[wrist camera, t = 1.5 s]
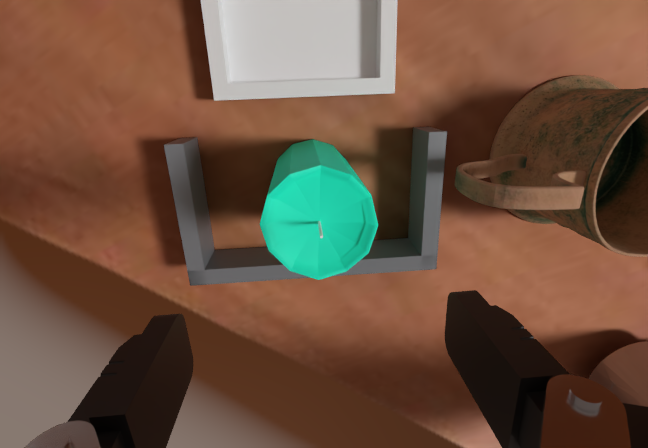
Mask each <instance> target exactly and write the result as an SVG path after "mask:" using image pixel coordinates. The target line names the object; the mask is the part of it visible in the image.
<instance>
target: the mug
mask: <svg viewBox="0 0 648 448" xmlns="http://www.w3.org/2000/svg"><path fill="white" fill-rule="evenodd" d="M487 177H490V180H491V183H490V182H486V181H483V180H480V178H487ZM455 187H456V188H457V190H458V191H459V192H461V193H462V194H463V195H465V196H466V197H468V198H470V199H471V200H473V201H476V202H478V203H481V204H484V205H487V206H492V207H497V208H505V209H507V210H509V211H510V212H511V213H513V214H514V215H516V216H518V217H519V218H521V219H524V220H526V221H529V222H533V223H540V224H553V223H557V224H559V225H561V226H563V227H567V228H569V229H571V230H573V231H575V232H577V233H578V234H580V235H582V236H584V237H586V238H589V239H591V240H593V241H595V242H597V243H599V244H601V245H602V246H604V247H605V248H607V249H609V250H611V251H613V252H616V253H618V254H622V255H626V256H634V257H648V88H641V89H618V88H617V87H616V86H615V85H613V84H612V83H610V82H608V81H606V80H604V79H601V78H598V77H594V76H586V75H577V76H568V77H562V78H558V79H555V80H552V81H549V82H547V83H545V84H543V85H541V86H539V87H537V88H535V89H534V90H532V91H531V92H529V93H528V94H527V95H526V96H524V97H523V98H522V99H521V100H520V101H519V102H518V103H517V104H516V105H515V106H514V107H513V108H512V109H511V110H510V112H509V113H508V114H507V116H506V117H505V119H504V120H503V122H502V123H501V125H500V127H499V129H498V131H497V133H496V135H495V138H494V141H493V144H492V147H491V152H490V158H489V160H484V161H476V162H468V163H463V164H461V165H459V166H458V167H457V168H456V177H455Z"/></svg>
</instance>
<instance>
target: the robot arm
mask: <svg viewBox="0 0 648 448" xmlns="http://www.w3.org/2000/svg"><path fill="white" fill-rule="evenodd" d="M445 343H446V348H447V351H448V354H449V356H450V358H451V360H452V361H453V363H454V365H455V367H456V368H457V370H458V372H459V373H460V375H461V377H462V379H463V380H464V382H465V384H466V386H467V387H468V389H469V391H470V393H471V394H472V396H473V398H474V399H475V401H476V403H477V405H478V406H479V408H480V410H481V412H482V413H483V415H484V417H485V419H486V420H487V422H488V424H489V425H490V427H491V429H492V431H493V432H494V434H495V436H496V438H497V439H498V441H499V443H500V445H501V446H502V448H648V341H646V342H638V343H634V344H630V345H627V346H625V347H622V348H620V349H618V350H616V351H615V352H613V353H611V354H610V355H609V356H607V357H606V358H605V359H604V360H602V361H601V362H600V363H599V364H598V365H597V367H596V368H595V369H594V370H593V372H592V373H591V375H590V376H589V379H587V378H584V377H581V376H576V375H570V374H569V373H568V372H567V371H566V370H565V369H564V368H563V367H562V366H561V365H560V364H559V363H558V362H557V361H556V360H555V359H554V357H553V356H552V355H551V354H550V353H549V352H548V351H547V350H546V349H545V348H544V347H543V346H542V345H541V344H540V343H539V342H538V341H537V340H536V339H534V338H533V336H532V335H531V334H530V333H529V332H528V331H527V329H524V326H523V325H522V324H521V323H520V322H519V321H518V320H517V319H516V318H515V317H514V316H513V315H512V314H510V313H508V312H507V311H505V310H503V309H501V308H500V307H498V306H496V305H495V306H490V305H489V304H488V302H487V301H486V300H485V299H484V298H483V297H482V296H481V295H480V294H479V293H478V292H477V291H475V290H474V291H462V292H451V293H450V294H449V296H448V301H447V313H446V326H445ZM192 372H193V355H192V351H191V346H190V342H189V337H188V333H187V328H186V323H185V319H184V317H183V315H182V314H171V315H159V316H154V317H153V318H152V319H151V321H150V322H149V324H148V325H147V327H146V328H145V330H144V332H143V333H142V334H140V335H134V336H133V337H132V338H130V339H129V340H128V341H127V342H125V343H124V344H123V345H122V346H120V347H119V348H118V350H117V351H116V353H115V354H114V355H113V357H112V358H111V360H110V361H109V365H107V366H106V367H105V368H104V370H103V371H102V373H101V376H100V377H98V379H97V380H96V381H95V383H94V384H93V386H92V387H91V389H90V390H89V392H88V393H87V394H86V396H85V398H84V399H83V400H82V402H81V403H80V405H79V406H78V407H77V409H76V410H75V412H74V413H73V415H72V416H71V418H70V419H69V420H68V422H66V423H63V424H60V425H57V426H55V427H53V428H51V429H49V430H47V431H45V432H43V433H42V434H40V435H39V436H37V437H36V438H35V439H33V440H32V441H31V442H30V443H29V444H28V445H27V446H26V447H24V448H166V446H167V443H168V440H169V438H170V435H171V432H172V429H173V427H174V424H175V421H176V418H177V415H178V413H179V410H180V408H181V405H182V402H183V399H184V397H185V394H186V391H187V389H188V386H189V383H190V380H191V377H192Z"/></svg>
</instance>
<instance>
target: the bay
mask: <svg viewBox="0 0 648 448" xmlns="http://www.w3.org/2000/svg"><path fill="white" fill-rule="evenodd" d="M446 138H447V131H443V130H440V129H436V128H432V127H413V143H412V165H411V186H410V207H409V229H408V238H400V239H384V240H373V242H372V245H371V248H370V251H369V253H368V254H367V255H366V256H365V257H363V258H362V259H361V260H360V261H359V262H357V263H356V264H355V265H354V266H353V267H351V268H350V269H349V270H348V271H347V272H343V273H340V274H337V275H333V276H340V275H355V274H370V273H385V272H400V271H415V270H430V269H436V265H437V252H438V239H439V227H440V214H441V201H442V188H443V176H444V163H445V150H446ZM164 149H165V154H166V159H167V165H168V170H169V175H170V181H171V186H172V191H173V197H174V202H175V207H176V212H177V218H178V223H179V228H180V234H181V239H182V244H183V250H184V255H185V260H186V265H187V271H188V276H189V281H190V286H191V285H206V284H221V283H236V282H251V281H266V280H281V279H296V278H311V277H308V276H304V275H301V274H298V273H295V272H292V271H289V270H288V269H287V268H286V267H285V266H284V265H283V264H282V263H281V262H280V261H279V260H278V259H277V258H276V257H275V256H274V255H273V254H272V253H271V252H269V250H268V247H255V248H239V249H223V250H215V249H214V242H213V236H212V229H211V223H210V216H209V210H208V204H207V197H206V191H205V184H204V178H203V172H202V165H201V159H200V152H199V146H198V139H197V137H193V138H179V139H177V140H174V141H172V142H169V143H167V144H164Z"/></svg>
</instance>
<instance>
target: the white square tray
mask: <svg viewBox="0 0 648 448" xmlns="http://www.w3.org/2000/svg"><path fill="white" fill-rule="evenodd" d="M201 7H202V14H203V22H204V29H205V37H206V44H207V51H208V59H209V66H210V73H211V81H212V88H213V96H214V101H216V100H240V99H265V98H290V97H314V96H339V95H363V94H388V93H395V67H396V32H397V0H201Z"/></svg>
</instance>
